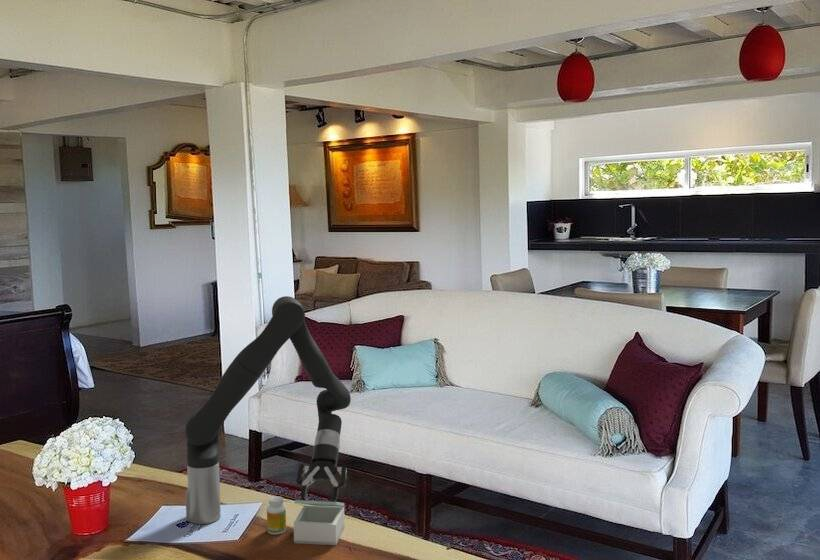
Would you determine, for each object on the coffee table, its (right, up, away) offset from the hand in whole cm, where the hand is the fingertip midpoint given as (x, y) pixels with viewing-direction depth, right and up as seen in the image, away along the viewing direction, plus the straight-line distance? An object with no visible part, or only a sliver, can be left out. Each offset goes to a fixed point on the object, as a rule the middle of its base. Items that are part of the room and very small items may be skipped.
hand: (318, 500), depth 215 cm
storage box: (0, -10, +2) cm, 10 cm away
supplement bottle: (-13, -10, +4) cm, 17 cm away
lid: (0, -1, +1) cm, 2 cm away
